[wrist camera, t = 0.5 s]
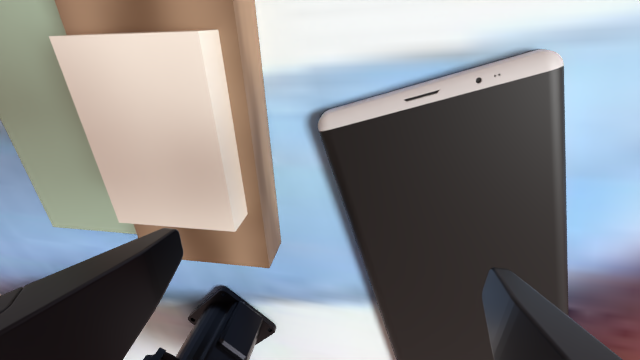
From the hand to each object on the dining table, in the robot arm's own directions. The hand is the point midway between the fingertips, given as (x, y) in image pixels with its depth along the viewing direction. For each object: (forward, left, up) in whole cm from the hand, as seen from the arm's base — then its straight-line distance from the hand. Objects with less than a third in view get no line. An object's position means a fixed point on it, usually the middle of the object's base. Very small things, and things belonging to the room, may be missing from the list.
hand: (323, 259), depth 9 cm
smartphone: (-2, -13, -14) cm, 19 cm away
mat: (-15, +15, -13) cm, 24 cm away
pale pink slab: (-7, +8, -10) cm, 15 cm away
